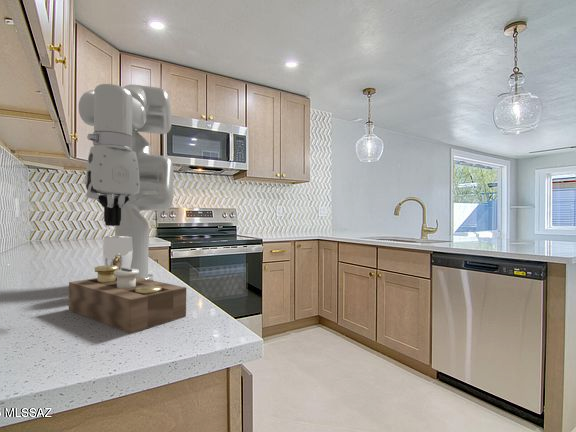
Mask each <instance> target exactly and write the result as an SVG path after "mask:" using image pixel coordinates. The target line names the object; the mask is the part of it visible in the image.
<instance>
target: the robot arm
mask: <svg viewBox="0 0 576 432" xmlns="http://www.w3.org/2000/svg"><path fill="white" fill-rule="evenodd" d="M77 106H78V114H79V117H80V119H81V120H82V122H84V123H85V124H86V125H88V126H92V127H93V132H92V133H88V134H87V136H86V137H87V140H88V141H91V142H92V145H93V146H91V147H90V149H89V153H88V157H87V161H86V162H87V163H86V168H85V169H86V171H85V189H86V190H87V191H86V195H85V196H86V198H87V199H91V200H94V201H97V202H98V203H99V204H100V205H101V207H102V208H103V221H104V225H105V226H108V227H109V226H110V227H114V236H132V246H133V255H132V263H131V268H130V269H138V270H139V274H138V275H136V277H138V278H143V279H148V280H153V281H154V275H153V274H151V273H149V243H150V242H149V235H150V232H149V231H150V226H149V222H148V220H147V219H146V218H145V217H144V216H143V215H142V213H141V211H155V212H156V211H162V212H163V211H167V210H170V209H171V207H172V205H173V200H174V176H175V175H174V173H175V171H174V164H173V162H172V160H171V159H170V158H169V157H168V156H165V155H160V154H159V155H158V154H152V146H151V144H150V143H149V142H148V140H147V139H146V138H145V137H144V136H142V135H141V134H140V133H148V134H157V135H158V134H159V135H165V134H169V132H170V131H171V129H172V111H171V110H172V109H171V102H170V97H169V95H168V93H167V91H166V90H165V89H164V88H161V87H154V86H149V85H148V86H147V85H140V84H127V85H124V86H121V85H117V84H112V83H101V84H98V85H96V87H95V88H94V89H92V90H91V89H90V90H88V91H86V92H84V93H83V94H82V95H81V96H80V98H79V101H78V105H77Z"/></svg>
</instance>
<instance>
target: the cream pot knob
mask: <svg viewBox="0 0 576 432" xmlns="http://www.w3.org/2000/svg"><path fill="white" fill-rule="evenodd" d="M138 274H139V270H138V269H127V268H121V270H116V271H114V276H117V288H118V289H124V288H129V287H134V286H136V275H138Z"/></svg>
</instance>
